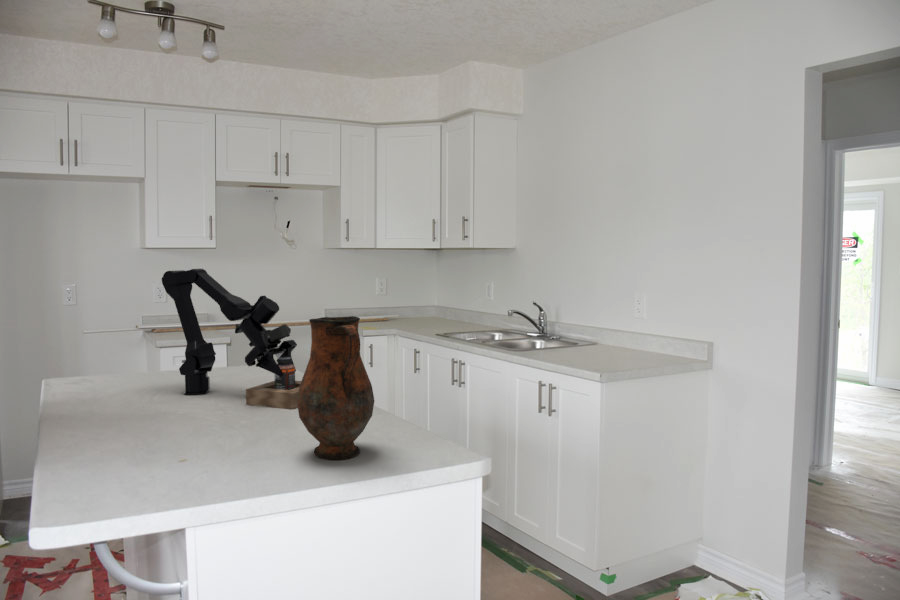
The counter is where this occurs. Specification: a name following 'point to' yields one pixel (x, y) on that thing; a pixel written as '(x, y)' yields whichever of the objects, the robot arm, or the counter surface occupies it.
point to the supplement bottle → (285, 374)
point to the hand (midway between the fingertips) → (288, 373)
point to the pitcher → (335, 388)
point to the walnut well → (273, 396)
